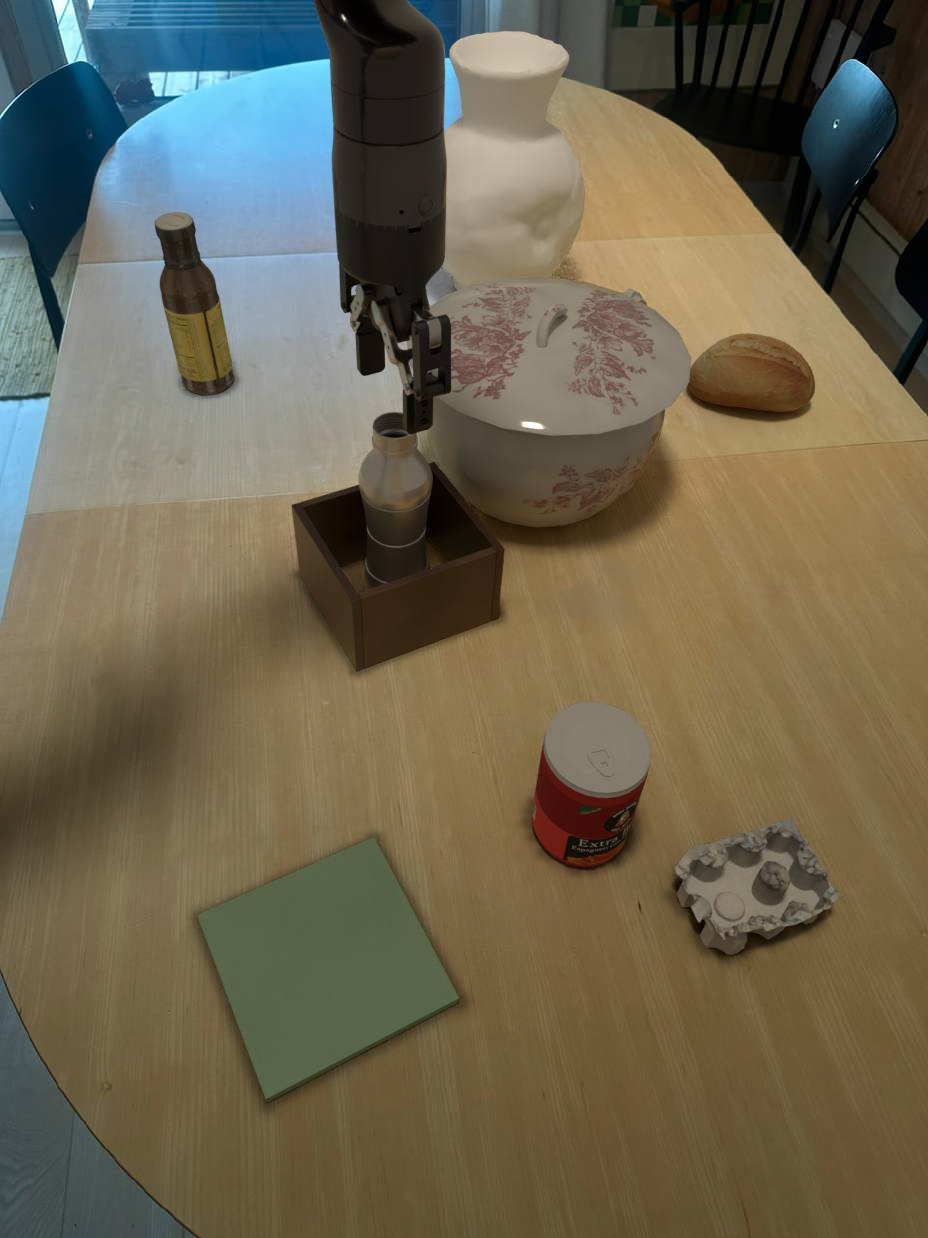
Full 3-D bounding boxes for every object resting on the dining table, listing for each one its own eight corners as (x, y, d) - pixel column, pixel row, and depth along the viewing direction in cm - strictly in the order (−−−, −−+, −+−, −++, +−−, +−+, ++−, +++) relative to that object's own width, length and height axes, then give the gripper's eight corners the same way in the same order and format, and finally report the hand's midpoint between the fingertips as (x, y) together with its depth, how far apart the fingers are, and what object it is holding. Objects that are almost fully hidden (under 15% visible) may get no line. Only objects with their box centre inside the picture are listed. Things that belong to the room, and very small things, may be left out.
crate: (356, 671, 86) (351, 602, 80) (299, 574, 94) (291, 504, 88) (498, 618, 92) (505, 548, 85) (432, 530, 99) (434, 461, 93)
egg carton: (709, 966, 69) (722, 942, 66) (661, 875, 74) (671, 848, 71) (835, 922, 72) (854, 897, 69) (782, 837, 77) (796, 809, 74)
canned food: (569, 888, 73) (589, 811, 65) (510, 808, 78) (521, 727, 69) (647, 841, 76) (676, 762, 68) (586, 767, 80) (606, 685, 72)
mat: (266, 1103, 62) (265, 1099, 62) (198, 919, 70) (196, 914, 70) (459, 1002, 67) (459, 998, 66) (374, 841, 75) (374, 836, 75)
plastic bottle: (425, 568, 96) (427, 397, 81) (435, 618, 91) (440, 447, 76) (360, 574, 95) (350, 403, 80) (367, 625, 90) (358, 453, 76)
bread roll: (811, 432, 114) (833, 374, 108) (683, 416, 115) (697, 357, 109) (805, 386, 120) (825, 329, 114) (684, 371, 121) (698, 313, 115)
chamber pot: (432, 585, 94) (436, 407, 79) (388, 418, 112) (384, 247, 97) (702, 552, 99) (755, 377, 84) (618, 397, 117) (649, 230, 102)
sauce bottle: (220, 361, 119) (193, 200, 104) (243, 386, 115) (218, 223, 101) (171, 377, 116) (136, 213, 101) (193, 403, 113) (160, 238, 98)
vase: (389, 287, 132) (384, 42, 110) (500, 240, 143) (517, 9, 121) (482, 345, 124) (498, 92, 101) (594, 291, 134) (630, 50, 112)
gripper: (297, 163, 67) (315, 365, 79) (384, 253, 59) (389, 464, 71) (394, 145, 70) (397, 344, 82) (491, 230, 62) (479, 437, 74)
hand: (394, 399), depth 76 cm, fingers open, 8 cm apart
